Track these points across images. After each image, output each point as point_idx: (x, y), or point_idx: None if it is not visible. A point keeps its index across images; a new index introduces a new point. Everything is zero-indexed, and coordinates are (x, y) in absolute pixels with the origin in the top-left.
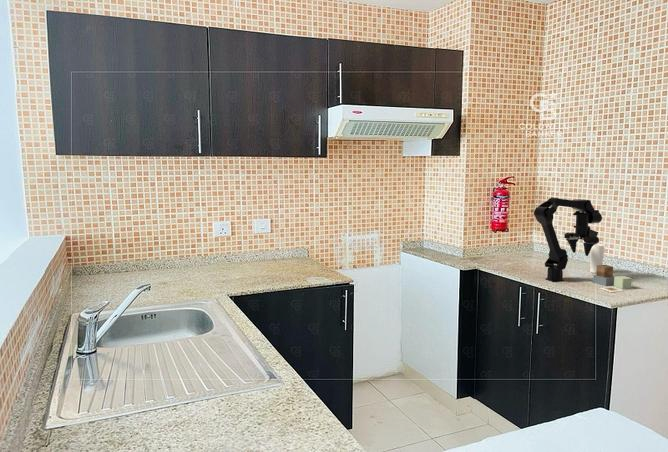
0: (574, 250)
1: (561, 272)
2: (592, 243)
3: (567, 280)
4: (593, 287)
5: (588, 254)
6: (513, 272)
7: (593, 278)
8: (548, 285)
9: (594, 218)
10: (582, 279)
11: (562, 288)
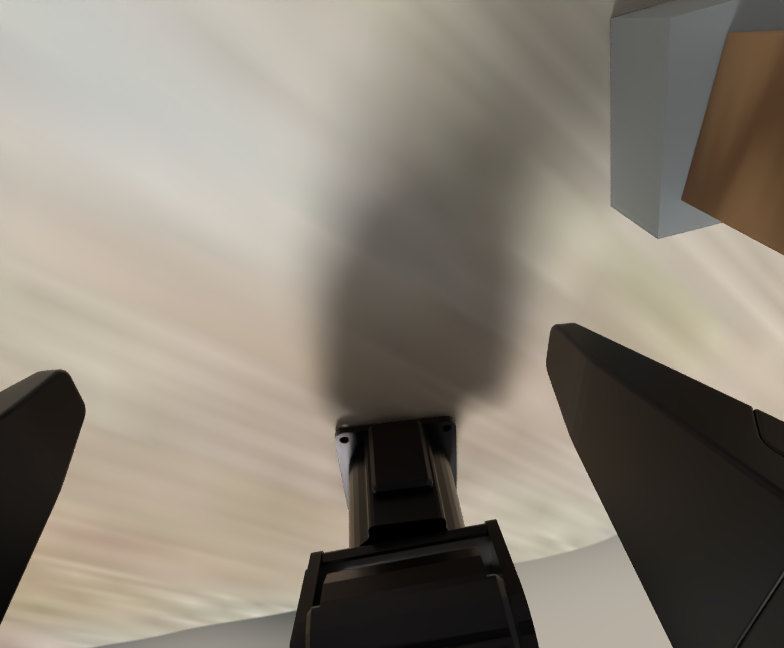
0: (42, 436)
1: (438, 486)
2: None
3: (436, 377)
4: (737, 314)
5: (600, 338)
6: (82, 592)
7: (643, 222)
8: (524, 545)
9: None
10: (444, 218)
11: None
